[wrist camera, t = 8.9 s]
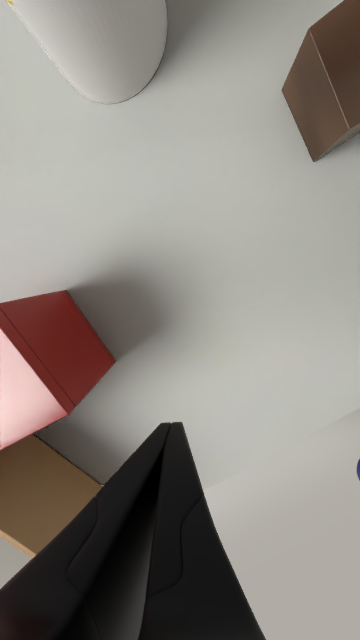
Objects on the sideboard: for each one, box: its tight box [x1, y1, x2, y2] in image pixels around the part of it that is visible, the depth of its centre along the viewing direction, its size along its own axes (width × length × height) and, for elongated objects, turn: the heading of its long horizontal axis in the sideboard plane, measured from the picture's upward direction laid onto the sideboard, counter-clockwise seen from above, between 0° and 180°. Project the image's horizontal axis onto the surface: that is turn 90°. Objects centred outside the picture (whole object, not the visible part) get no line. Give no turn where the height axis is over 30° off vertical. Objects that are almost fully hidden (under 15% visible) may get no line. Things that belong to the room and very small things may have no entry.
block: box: [282, 0, 360, 162], centre depth 12 cm, size 5×4×4 cm
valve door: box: [0, 434, 102, 558], centre depth 22 cm, size 6×15×8 cm, turn 49°
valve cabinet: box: [0, 290, 116, 450], centre depth 18 cm, size 8×15×8 cm, turn 122°
